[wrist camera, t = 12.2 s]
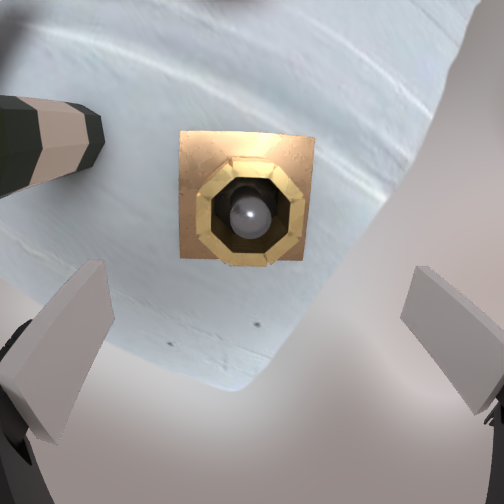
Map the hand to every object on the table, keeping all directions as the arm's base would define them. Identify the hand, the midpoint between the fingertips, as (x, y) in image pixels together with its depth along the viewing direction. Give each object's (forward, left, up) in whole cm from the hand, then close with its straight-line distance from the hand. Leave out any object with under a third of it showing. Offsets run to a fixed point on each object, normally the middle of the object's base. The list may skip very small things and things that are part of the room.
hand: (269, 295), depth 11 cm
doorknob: (0, 0, -22) cm, 22 cm away
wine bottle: (-20, +7, -22) cm, 30 cm away
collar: (0, 0, -19) cm, 19 cm away
